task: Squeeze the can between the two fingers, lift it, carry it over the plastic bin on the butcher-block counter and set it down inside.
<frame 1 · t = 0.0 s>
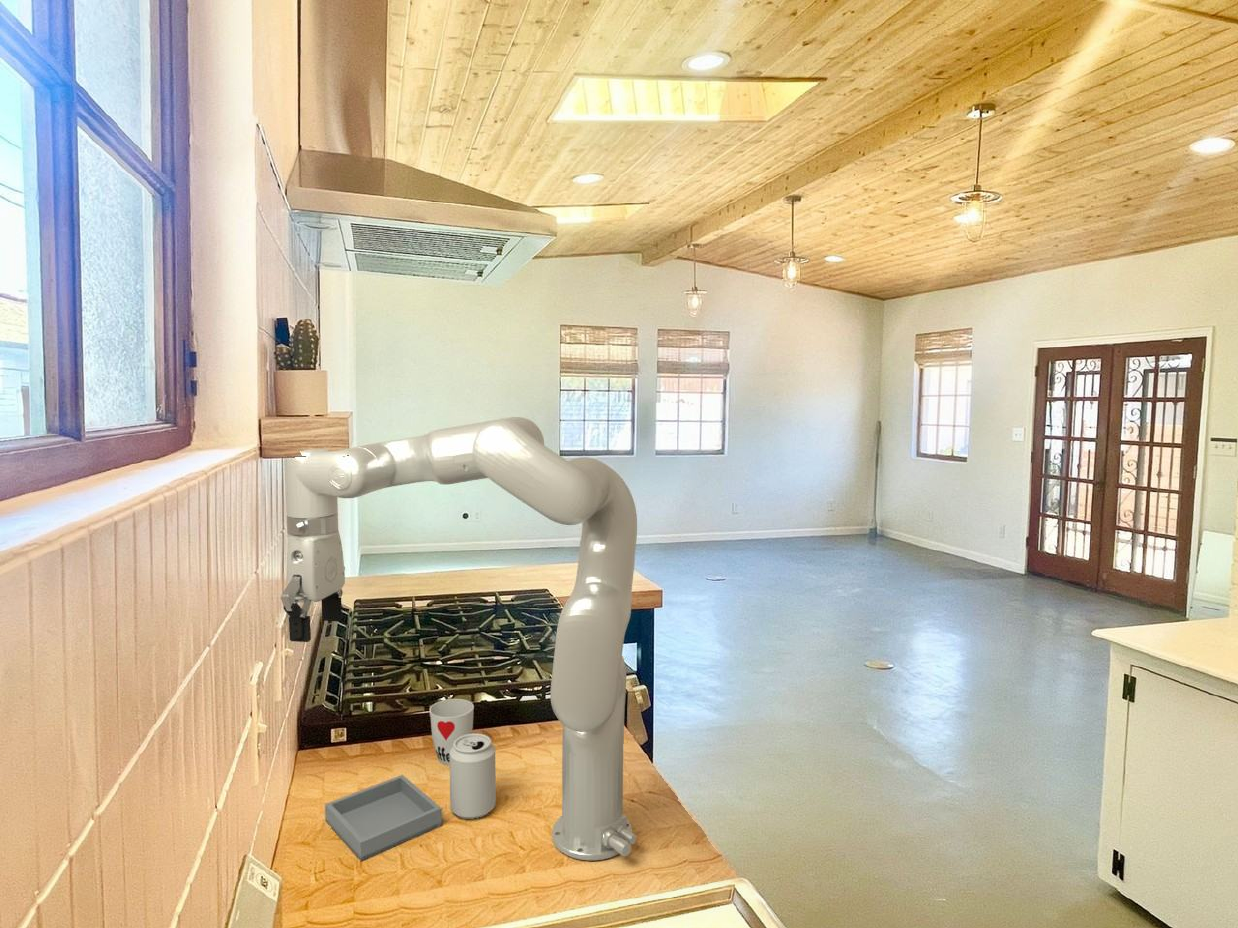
hand: (316, 630, 121), 31 cm above the table, tool pointing down, fingers open, 9 cm apart
can: (473, 809, 126), on the table
bin: (383, 823, 121), on the table
cup: (452, 758, 142), on the table
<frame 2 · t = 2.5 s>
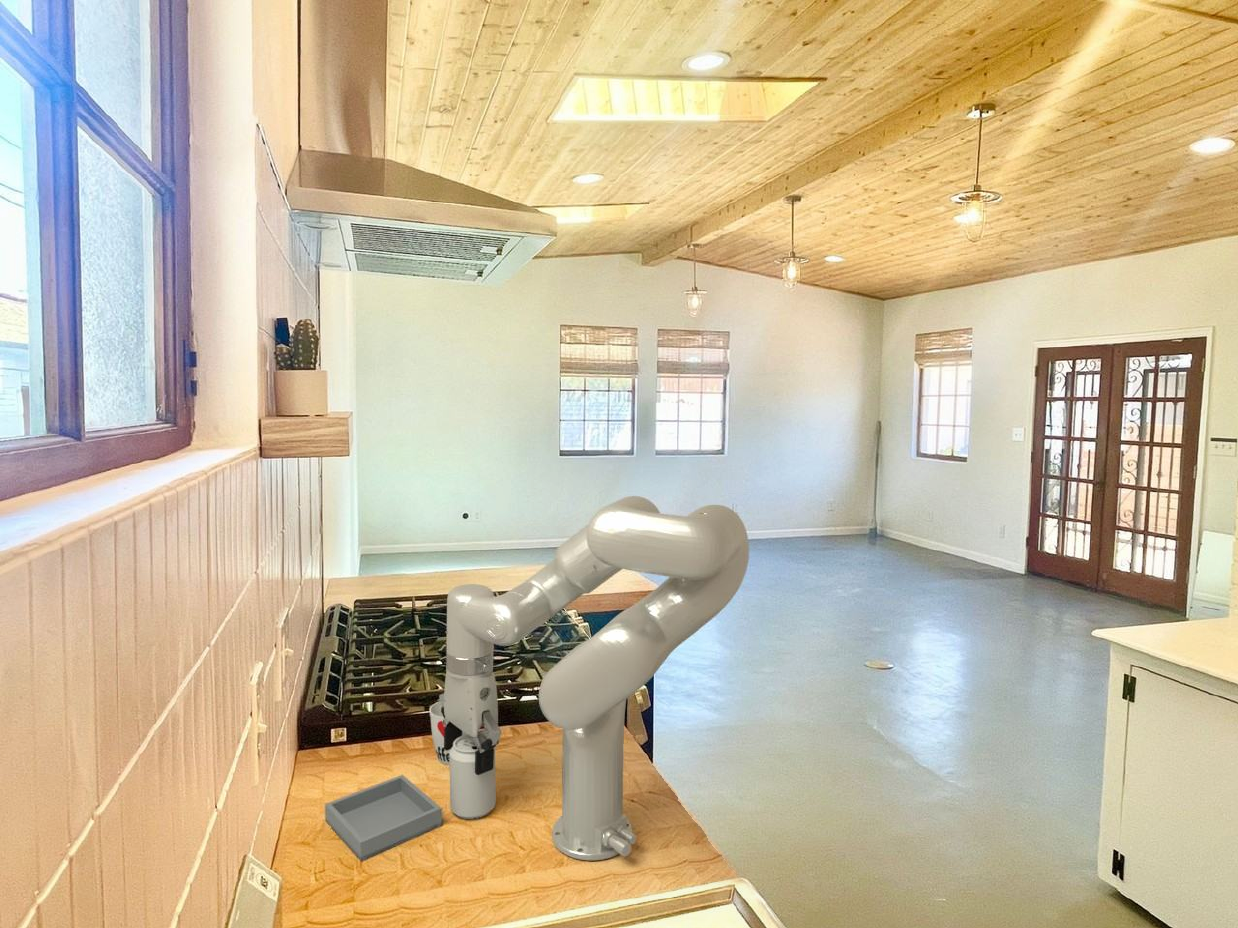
hand: (468, 759, 125), 9 cm above the table, tool pointing down, fingers open, 9 cm apart
nothing on the table moved.
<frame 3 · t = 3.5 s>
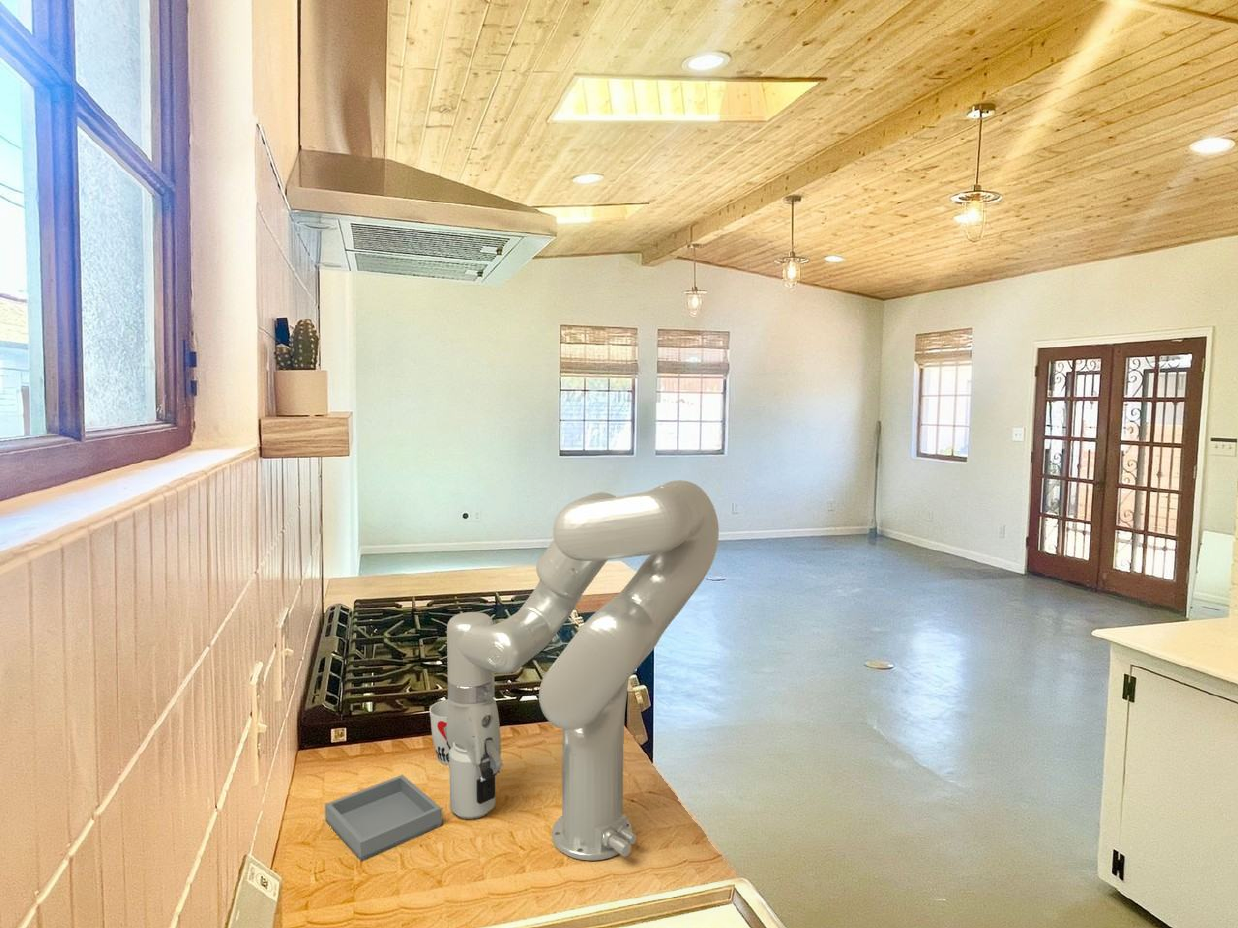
hand: (472, 789, 125), 3 cm above the table, tool pointing down, fingers closed on can, 7 cm apart
can: (472, 809, 126), on the table, touching gripper
everything else where it was.
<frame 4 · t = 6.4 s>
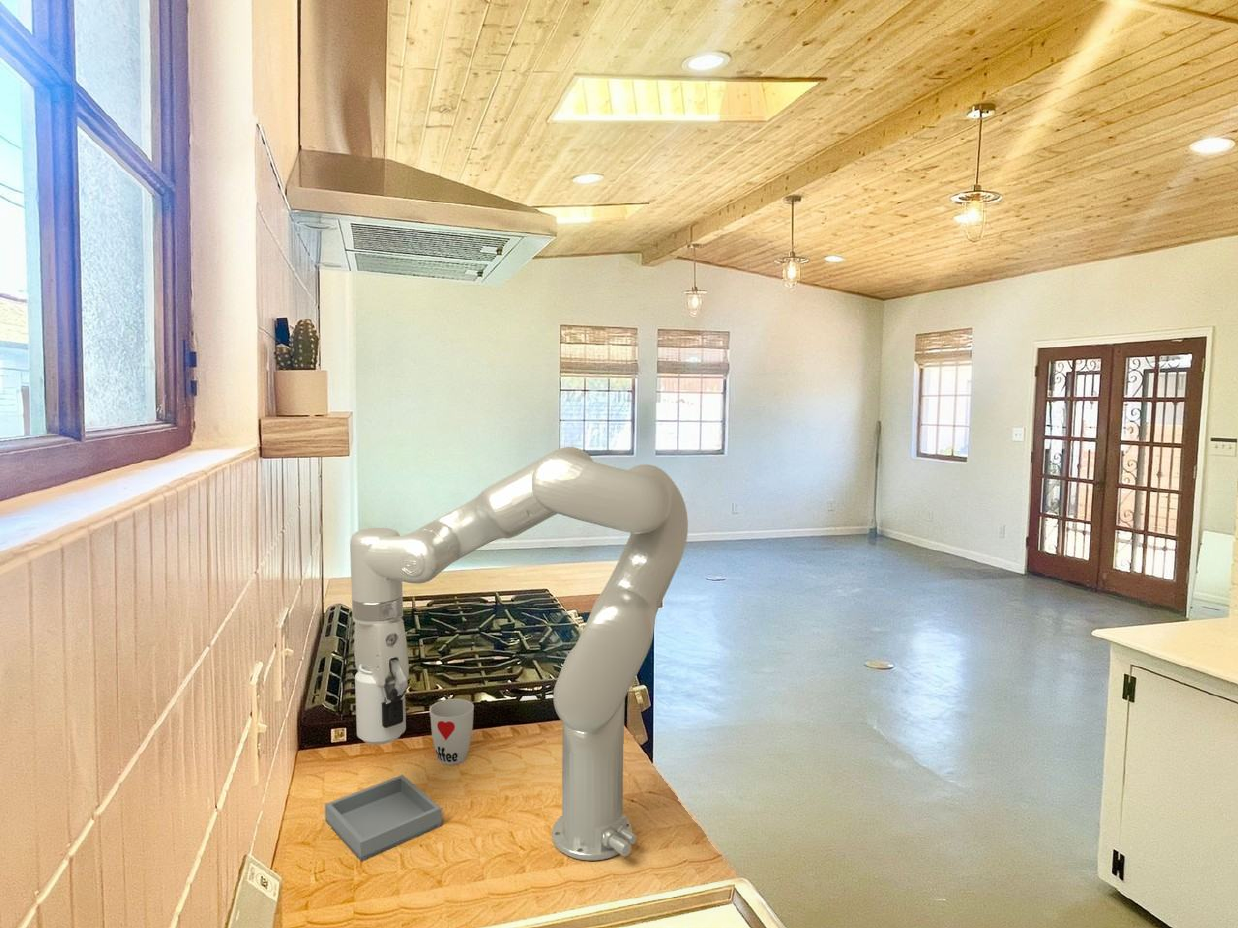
hand: (381, 714, 119), 18 cm above the table, tool pointing down, fingers closed on can, 7 cm apart
can: (381, 736, 120), point 15 cm above the table, touching gripper
everything else where it was.
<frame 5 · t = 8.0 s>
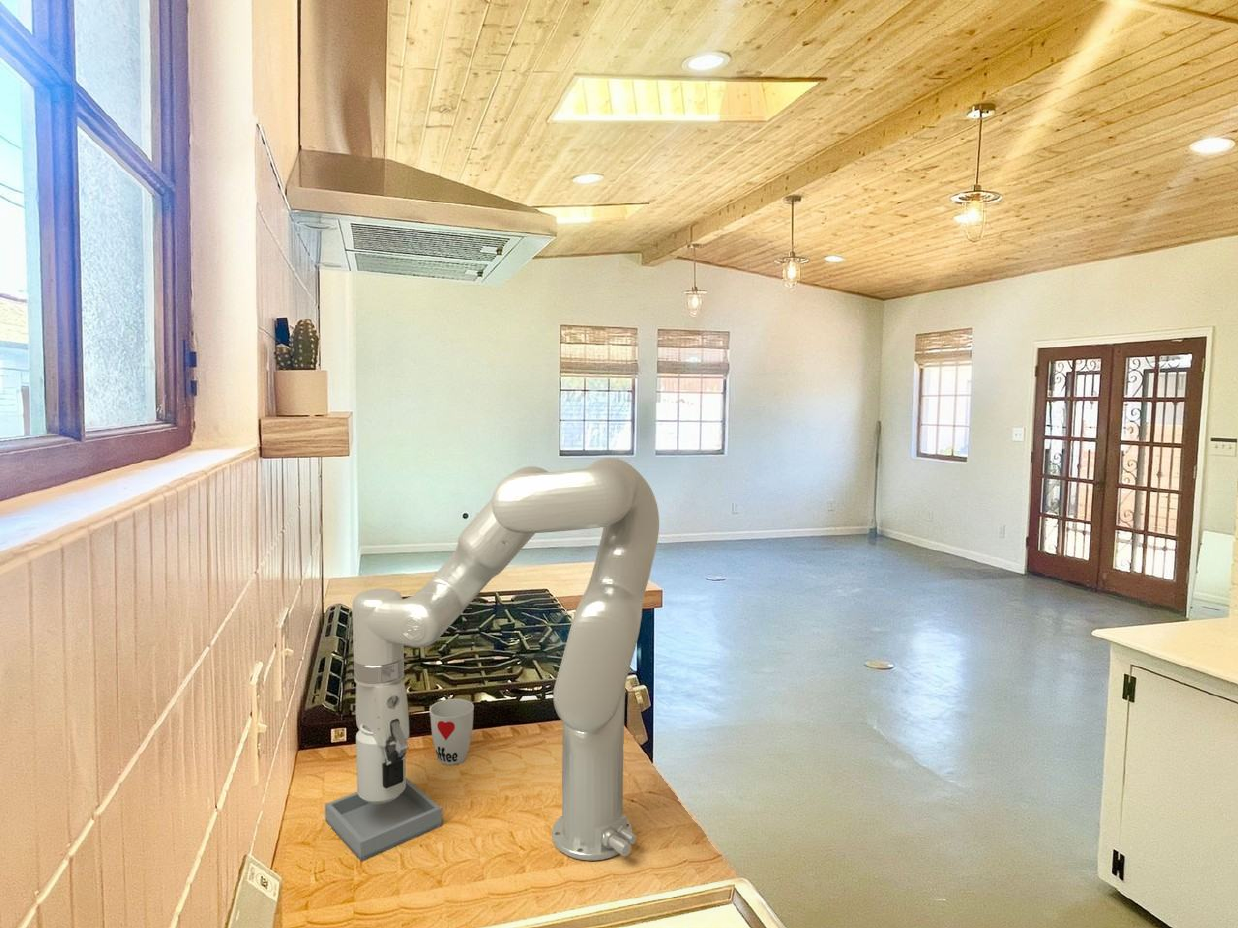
hand: (381, 773, 120), 9 cm above the table, tool pointing down, fingers closed on can, 7 cm apart
can: (382, 794, 121), point 5 cm above the table, touching gripper
everything else where it was.
when the fingers open (6 cm above the table, at t = 9.2 s): can drops 2 cm, resting on bin.
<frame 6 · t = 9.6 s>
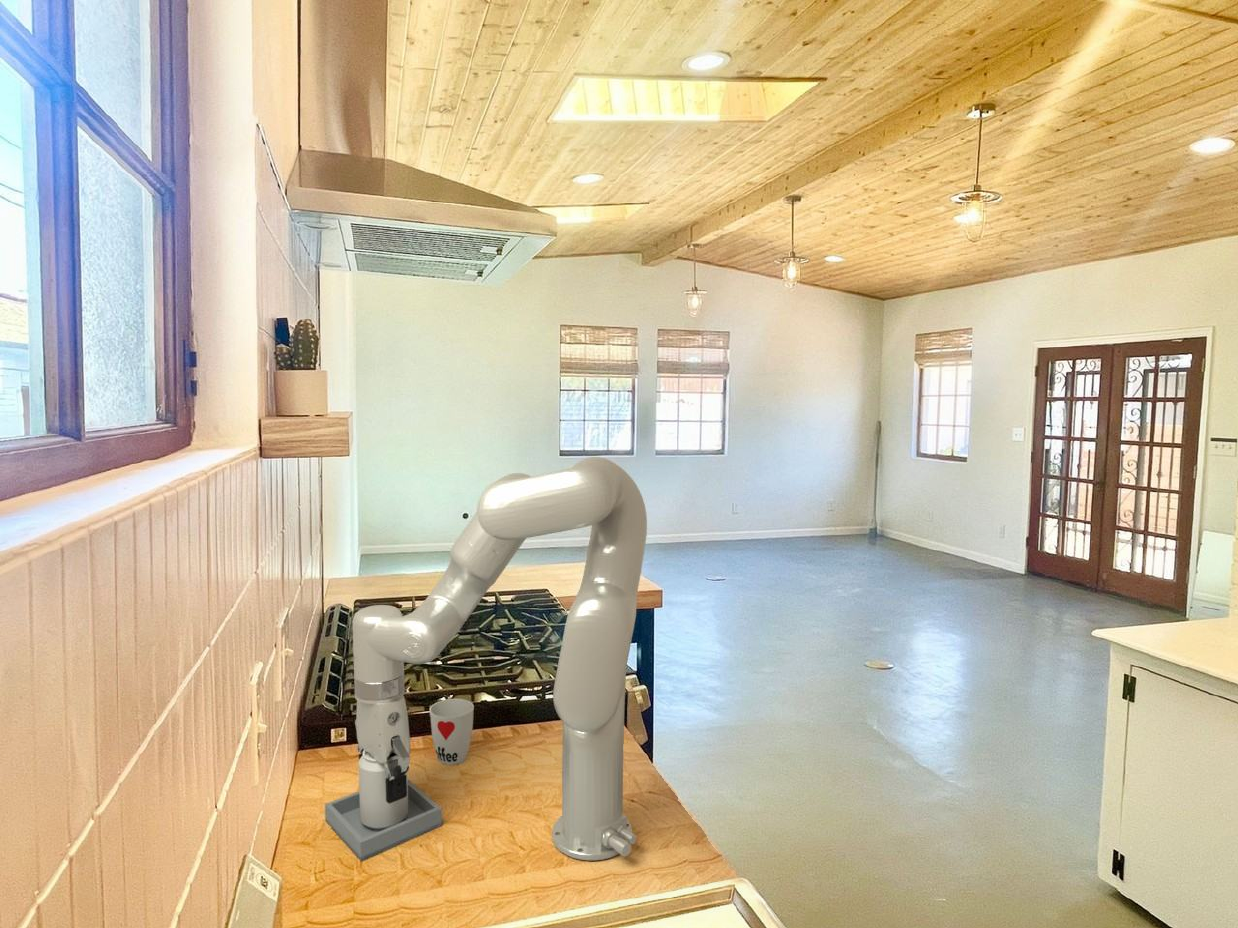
hand: (382, 786, 121), 6 cm above the table, tool pointing down, fingers open, 9 cm apart
can: (384, 819, 122), resting on bin
everything else where it was.
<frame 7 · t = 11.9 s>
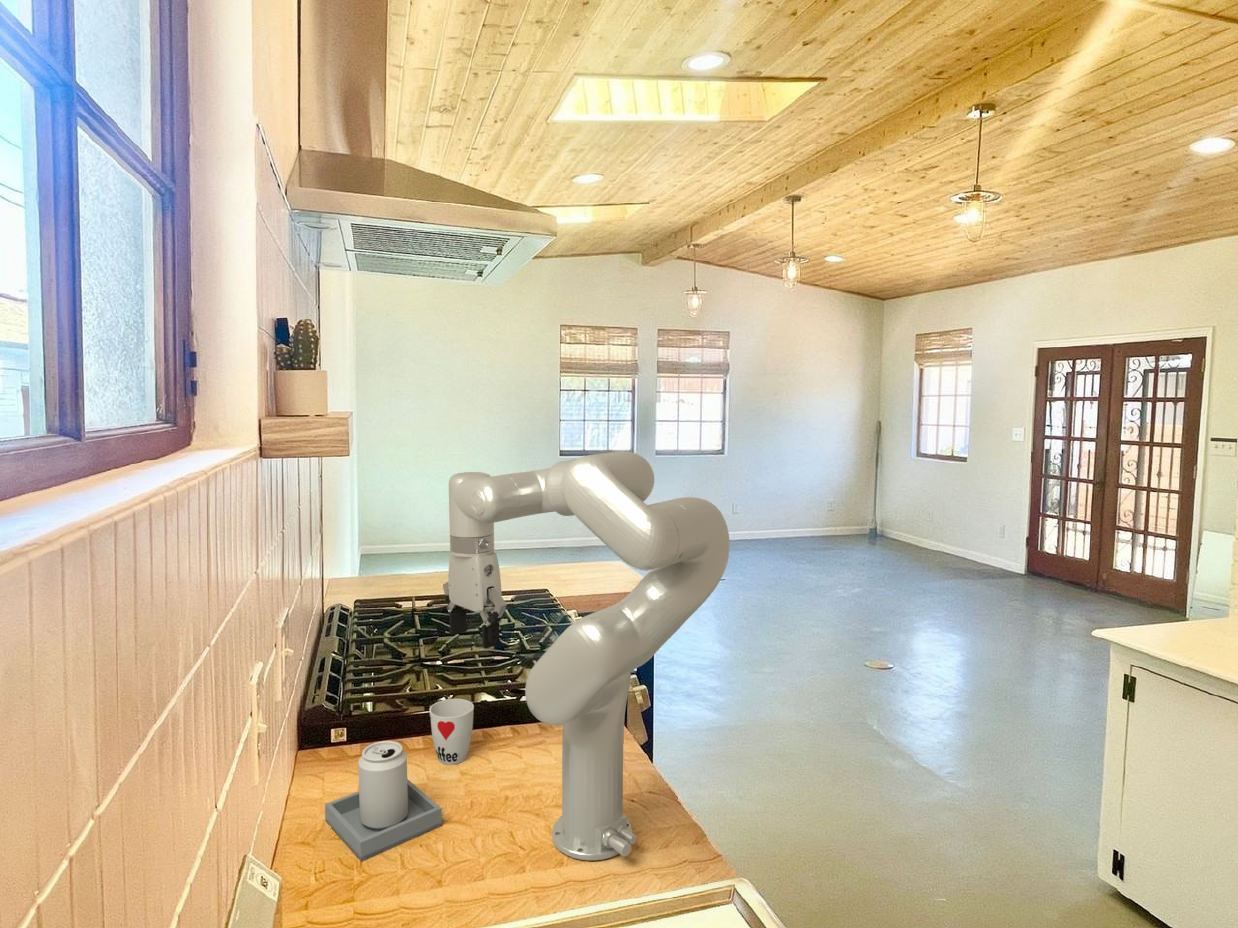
hand: (474, 639, 132), 26 cm above the table, tool pointing down, fingers open, 9 cm apart
nothing on the table moved.
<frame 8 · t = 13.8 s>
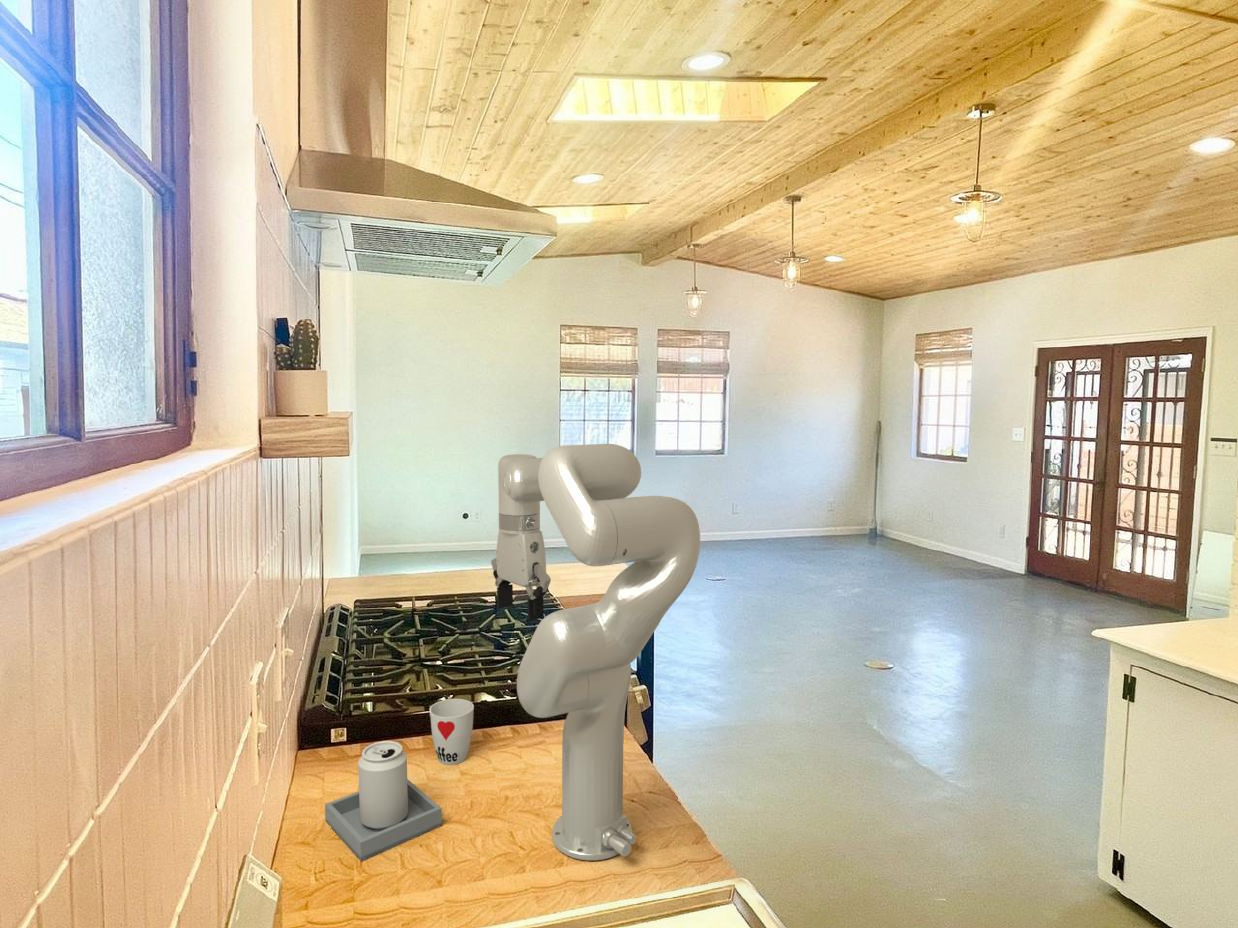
hand: (519, 612, 140), 28 cm above the table, tool pointing down, fingers open, 9 cm apart
nothing on the table moved.
at the end: can inside the target area on the bin (0.2 cm from its centre), point 0.4 cm above the bin's base; can tilted 0°; the gripper is holding nothing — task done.
